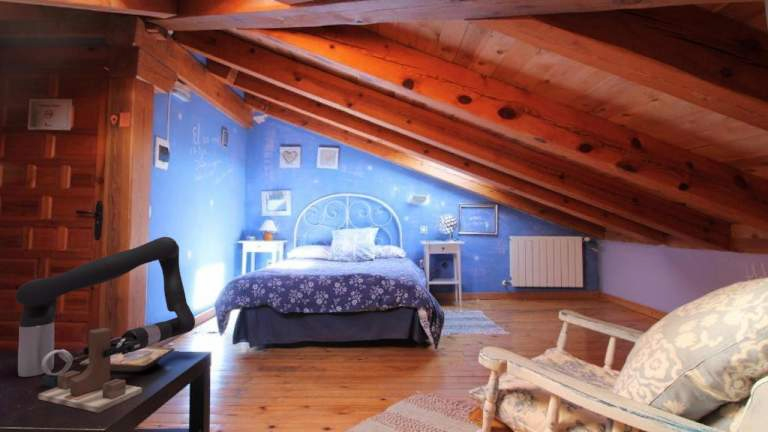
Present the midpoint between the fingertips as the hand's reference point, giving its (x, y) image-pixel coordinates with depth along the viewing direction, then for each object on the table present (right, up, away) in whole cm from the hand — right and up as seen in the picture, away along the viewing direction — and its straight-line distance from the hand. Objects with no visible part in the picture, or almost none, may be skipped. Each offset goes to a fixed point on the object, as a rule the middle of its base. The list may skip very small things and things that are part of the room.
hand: (92, 353), depth 114 cm
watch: (-18, -13, +8) cm, 24 cm away
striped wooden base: (0, -13, -1) cm, 13 cm away
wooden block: (-1, -12, 0) cm, 12 cm away
